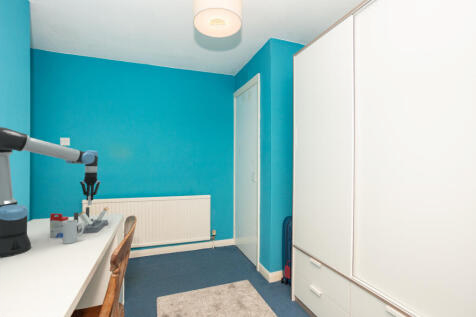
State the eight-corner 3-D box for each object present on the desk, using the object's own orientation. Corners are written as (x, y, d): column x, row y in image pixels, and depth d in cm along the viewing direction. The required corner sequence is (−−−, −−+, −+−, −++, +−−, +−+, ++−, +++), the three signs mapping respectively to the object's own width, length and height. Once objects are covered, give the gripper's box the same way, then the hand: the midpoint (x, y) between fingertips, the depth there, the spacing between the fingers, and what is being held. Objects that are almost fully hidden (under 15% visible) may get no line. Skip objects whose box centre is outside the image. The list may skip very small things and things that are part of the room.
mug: (61, 245, 127) (61, 223, 127) (63, 241, 133) (64, 220, 133) (83, 242, 132) (83, 221, 132) (84, 238, 138) (84, 218, 138)
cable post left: (73, 233, 146) (73, 215, 146) (69, 233, 146) (69, 215, 146) (78, 230, 153) (79, 212, 153) (74, 230, 153) (75, 212, 153)
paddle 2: (98, 221, 161) (106, 209, 162) (95, 220, 161) (104, 208, 162) (100, 220, 165) (108, 208, 167) (98, 218, 165) (106, 206, 166)
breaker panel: (96, 232, 149) (97, 224, 149) (79, 233, 147) (79, 225, 147) (107, 223, 169) (107, 216, 169) (92, 224, 167) (93, 217, 167)
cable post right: (88, 223, 168) (88, 207, 169) (84, 223, 168) (85, 207, 168) (94, 220, 179) (94, 204, 179) (90, 220, 178) (91, 204, 179)
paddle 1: (90, 224, 150) (80, 212, 149) (87, 226, 150) (78, 214, 148) (93, 222, 154) (83, 211, 153) (90, 224, 154) (81, 213, 153)
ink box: (68, 235, 143) (69, 212, 143) (61, 237, 138) (62, 213, 138) (56, 234, 144) (56, 211, 144) (49, 237, 139) (49, 213, 139)
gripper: (103, 172, 167) (101, 204, 166) (83, 171, 164) (81, 204, 164) (99, 172, 160) (97, 205, 159) (78, 172, 157) (76, 206, 156)
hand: (89, 205), depth 161 cm, fingers closed
